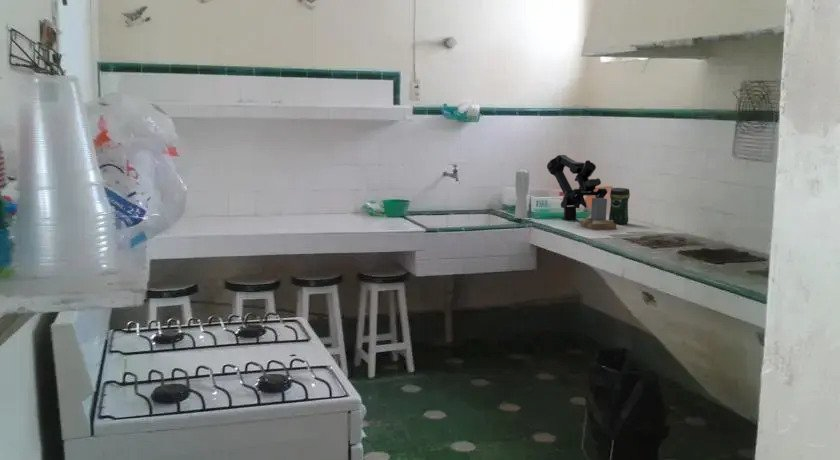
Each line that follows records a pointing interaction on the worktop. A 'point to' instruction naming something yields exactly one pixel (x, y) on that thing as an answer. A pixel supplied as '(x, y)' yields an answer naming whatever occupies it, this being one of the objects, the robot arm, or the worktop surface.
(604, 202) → the tall grey pillar block
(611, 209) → the coffee jar
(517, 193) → the white waisted cylinder
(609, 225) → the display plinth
